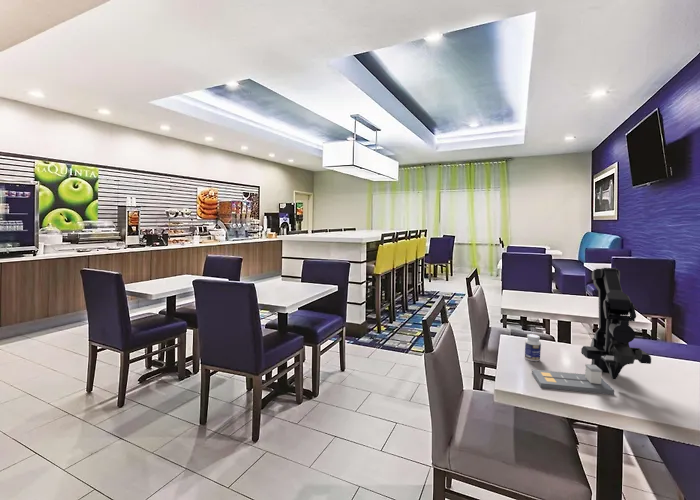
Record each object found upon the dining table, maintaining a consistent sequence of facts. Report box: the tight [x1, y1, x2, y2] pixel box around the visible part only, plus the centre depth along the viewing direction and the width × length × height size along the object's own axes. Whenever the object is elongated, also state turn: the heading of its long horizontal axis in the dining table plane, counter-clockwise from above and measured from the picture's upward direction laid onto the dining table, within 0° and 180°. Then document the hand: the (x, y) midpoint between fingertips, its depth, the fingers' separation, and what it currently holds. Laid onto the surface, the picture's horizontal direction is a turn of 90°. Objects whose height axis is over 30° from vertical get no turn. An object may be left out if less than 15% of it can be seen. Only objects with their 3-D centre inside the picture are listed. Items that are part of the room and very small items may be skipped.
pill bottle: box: [524, 333, 542, 362], centre depth 149 cm, size 6×6×10 cm
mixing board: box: [531, 369, 615, 396], centre depth 126 cm, size 22×12×2 cm, turn 76°
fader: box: [584, 363, 603, 384], centre depth 124 cm, size 3×5×5 cm, turn 166°
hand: (613, 378), depth 123 cm, fingers closed
